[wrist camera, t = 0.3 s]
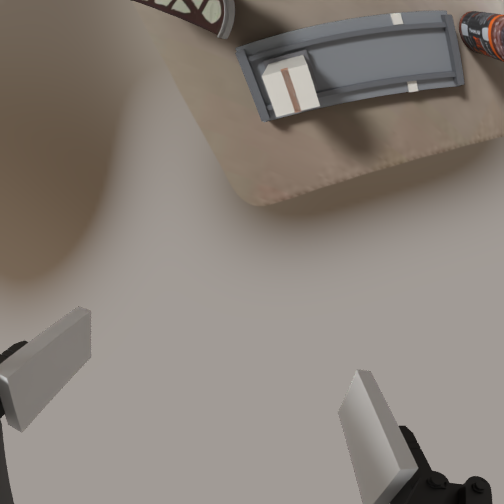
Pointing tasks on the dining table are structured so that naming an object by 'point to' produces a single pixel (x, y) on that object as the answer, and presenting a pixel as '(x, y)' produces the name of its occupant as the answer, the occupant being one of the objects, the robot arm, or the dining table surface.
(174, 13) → the food container
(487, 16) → the supplement bottle
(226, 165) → the dining table surface
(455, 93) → the dining table surface
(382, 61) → the board
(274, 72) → the fader tab
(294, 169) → the dining table surface
